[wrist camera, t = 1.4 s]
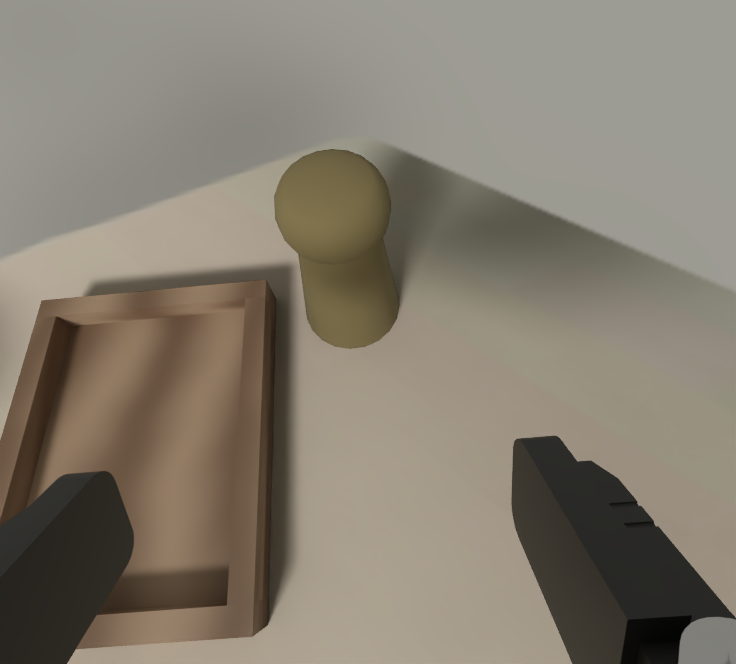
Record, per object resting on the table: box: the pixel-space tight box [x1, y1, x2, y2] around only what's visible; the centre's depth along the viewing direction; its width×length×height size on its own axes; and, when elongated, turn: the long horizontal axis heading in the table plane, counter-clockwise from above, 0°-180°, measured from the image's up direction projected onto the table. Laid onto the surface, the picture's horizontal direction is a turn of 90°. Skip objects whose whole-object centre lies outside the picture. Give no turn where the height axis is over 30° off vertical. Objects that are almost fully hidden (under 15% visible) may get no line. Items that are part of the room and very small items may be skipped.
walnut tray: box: [0, 280, 276, 649], centre depth 23 cm, size 14×18×2 cm
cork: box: [274, 149, 399, 349], centre depth 22 cm, size 6×6×11 cm
